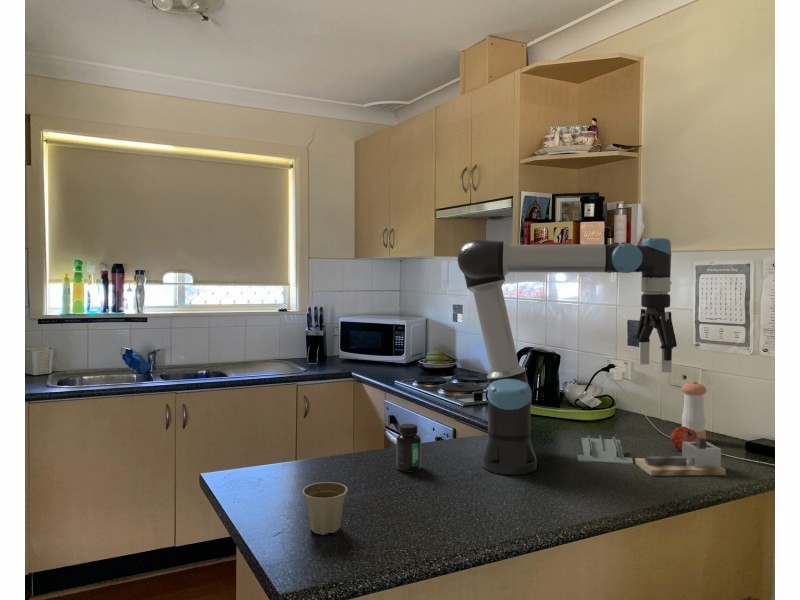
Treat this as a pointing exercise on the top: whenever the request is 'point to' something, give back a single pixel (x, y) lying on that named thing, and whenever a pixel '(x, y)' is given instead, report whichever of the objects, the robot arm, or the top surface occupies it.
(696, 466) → the grey square socket block
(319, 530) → the flower pot
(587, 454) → the metal bracket
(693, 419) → the pepper shaker
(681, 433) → the pomegranate
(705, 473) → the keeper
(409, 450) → the supplement bottle
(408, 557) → the top surface
